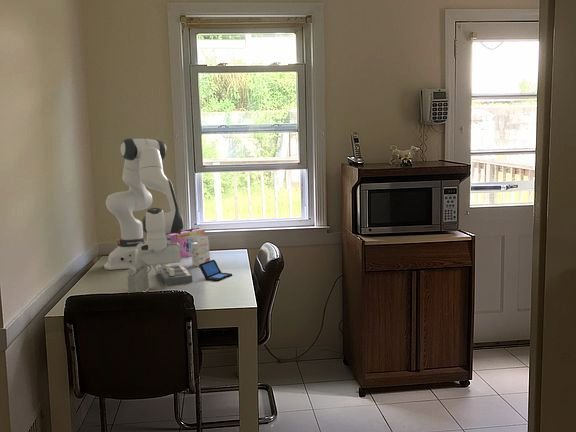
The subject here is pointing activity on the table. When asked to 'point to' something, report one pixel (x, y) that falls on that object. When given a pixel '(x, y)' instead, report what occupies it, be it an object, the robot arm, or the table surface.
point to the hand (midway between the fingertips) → (159, 273)
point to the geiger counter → (138, 277)
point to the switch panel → (176, 275)
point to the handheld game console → (212, 271)
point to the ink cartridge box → (200, 251)
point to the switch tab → (171, 272)
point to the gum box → (185, 239)
